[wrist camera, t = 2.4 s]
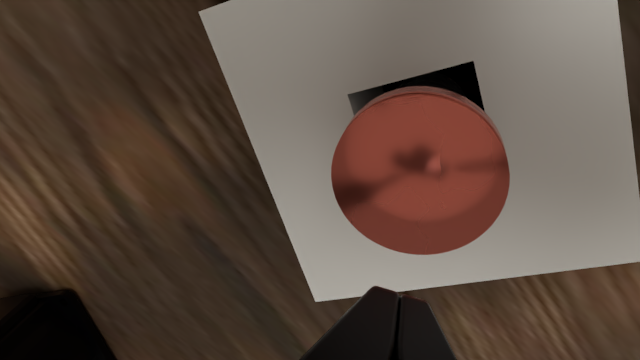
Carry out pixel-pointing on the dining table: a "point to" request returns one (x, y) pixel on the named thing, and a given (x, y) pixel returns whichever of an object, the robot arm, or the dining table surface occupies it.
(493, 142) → the plunger
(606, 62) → the button block
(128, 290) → the dining table surface
